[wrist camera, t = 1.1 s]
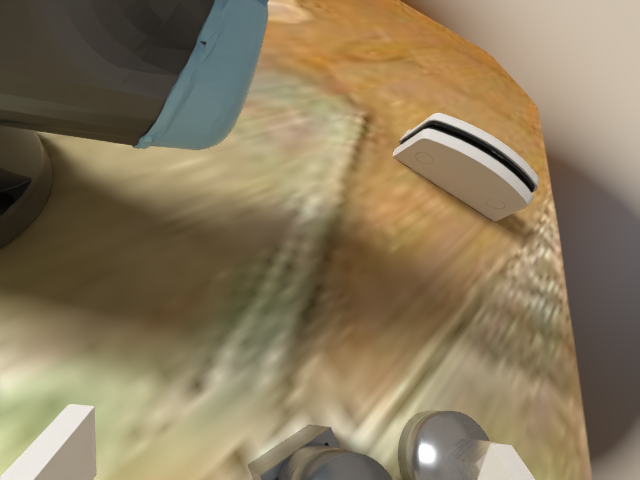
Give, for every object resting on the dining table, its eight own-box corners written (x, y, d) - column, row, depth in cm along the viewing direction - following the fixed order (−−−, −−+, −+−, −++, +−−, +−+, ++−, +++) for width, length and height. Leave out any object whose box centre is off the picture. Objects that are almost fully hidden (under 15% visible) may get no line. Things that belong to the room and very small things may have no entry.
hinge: (500, 197, 46) (564, 172, 36) (487, 225, 45) (551, 207, 35) (401, 133, 45) (441, 89, 35) (385, 160, 44) (422, 123, 34)
